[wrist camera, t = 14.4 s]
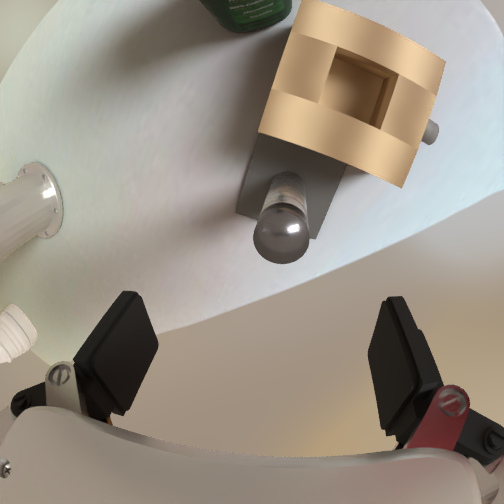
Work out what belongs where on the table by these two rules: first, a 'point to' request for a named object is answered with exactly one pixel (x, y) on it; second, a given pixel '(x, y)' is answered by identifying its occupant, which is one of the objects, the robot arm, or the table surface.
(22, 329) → the honey pot
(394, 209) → the table surface
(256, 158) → the mat
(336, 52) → the block
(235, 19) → the coffee jar
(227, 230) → the table surface
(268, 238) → the metal cylinder
